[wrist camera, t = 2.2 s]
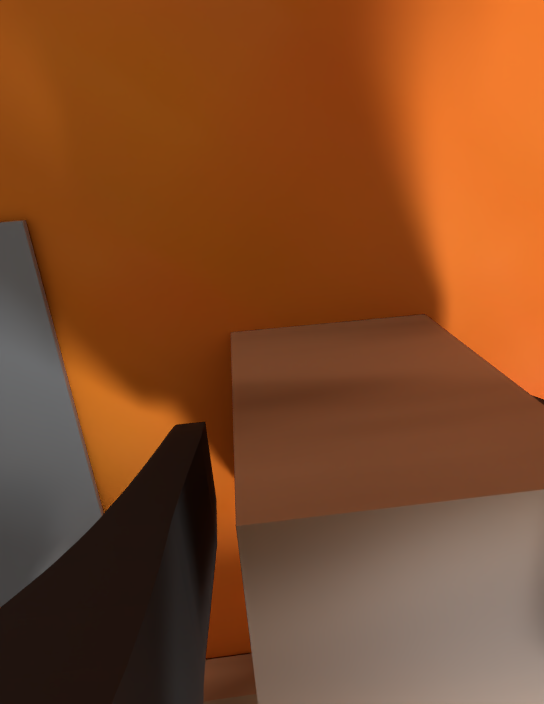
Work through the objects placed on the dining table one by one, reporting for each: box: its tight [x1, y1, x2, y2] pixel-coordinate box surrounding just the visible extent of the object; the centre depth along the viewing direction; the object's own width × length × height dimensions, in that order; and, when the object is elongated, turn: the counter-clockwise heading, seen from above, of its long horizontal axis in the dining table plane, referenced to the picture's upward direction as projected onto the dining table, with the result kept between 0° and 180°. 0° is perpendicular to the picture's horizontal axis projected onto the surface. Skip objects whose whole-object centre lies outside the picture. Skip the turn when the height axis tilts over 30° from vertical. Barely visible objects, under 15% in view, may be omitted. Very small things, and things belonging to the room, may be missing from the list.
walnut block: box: [231, 314, 544, 704], centre depth 9 cm, size 4×4×6 cm
